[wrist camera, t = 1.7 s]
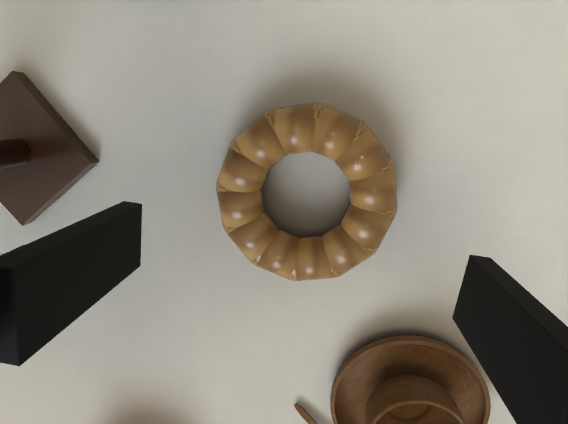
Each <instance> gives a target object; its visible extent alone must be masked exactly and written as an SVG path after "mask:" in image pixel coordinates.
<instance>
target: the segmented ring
mask: <svg viewBox="0 0 568 424" xmlns="http://www.w3.org/2000/svg"><path fill="white" fill-rule="evenodd" d="M309 151H313V152H315V153H318V154H320V155H322V156H325V157H327V158H329V159H332V160H334V161H335V162H336V163H337V165H338V166H339V167H340V169H341V170H342V171H343V173H344V174H345V175H346V177H347V178H348V180H349V188H350V199H351V203H350V205H349V208H348V210H347V212H346V214H345V216H344V218H343V220H342V222H341V223H340V224H339V225H337V226H336V227H334V228H333V229H332V230H330V231H329V232H327V233H326V234H324V235H323V236H316V237H305V238H298V237H296V236H293V235H291V234H289V233H286V232H284V231H282V230H279V229H278V228H277V227H276V226H275V224H274V223H273V222H272V221H271V219H270V218H269V217H268V216H267V214H266V213H265V212H264V207H263V200H262V194H261V188H262V185H263V183H264V180H265V178H266V175H267V173H268V170H269V168H270V167H272V166H273V165H274V164H276V163H277V162H278V161H279V160H281V159H282V158H283V157H285V156H286V155H287V154H293V153H301V152H309ZM216 189H217V195H218V201H219V206H220V212H221V217H222V223H223V227H224V229H225V231H226V233H227V234H228V235H229V236H230V238H231V239H232V240H233V241H234V243H235V244H236V245H237V246H238V247H239V249H240V250H241V251H242V252H243V254H244V255H245V256H246V257H247V258H248V260H249V261H250V262H251V263H253V264H254V265H256V266H258V267H261V268H263V269H265V270H268V271H270V272H272V273H275V274H277V275H279V276H282V277H284V278H287V279H289V280H293V281H301V280H313V279H326V278H335V277H338V276H341V275H342V274H344V273H345V272H347V271H348V270H350V269H352V268H353V267H355V266H356V265H358V264H359V263H361V262H362V261H364V260H365V259H367V258H369V257H370V256H372V255H373V254H374V253H375V252H376V251H377V249H378V248H379V246H380V244H381V242H382V240H383V238H384V236H385V234H386V232H387V230H388V229H389V227H390V225H391V223H392V221H393V219H394V217H395V215H396V212H397V194H396V179H395V166H394V163H393V161H392V159H391V157H390V156H389V154H388V153H387V152H386V150H385V149H384V147H383V146H382V144H381V143H380V142H379V140H378V139H377V137H376V136H375V135H374V133H373V132H372V130H371V129H370V128H369V126H368V125H367V124H366V123H365V122H363V121H362V120H360V119H357V118H355V117H353V116H350V115H348V114H346V113H343V112H341V111H339V110H336V109H334V108H331V107H329V106H327V105H324V104H321V103H310V104H303V105H296V106H289V107H282V108H275V109H271V110H269V111H267V112H266V113H264V114H263V115H262V116H261V117H259V118H258V119H257V120H256V121H255V122H253V123H252V124H251V125H250V126H248V127H247V128H246V129H245V130H243V131H242V132H241V133H240V134H239V135H237V136H236V137H235V138H234V139H233V140H232V142H231V144H230V146H229V149H228V151H227V154H226V157H225V160H224V163H223V165H222V168H221V171H220V174H219V176H218V179H217V183H216Z"/></svg>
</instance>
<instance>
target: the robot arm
mask: <svg viewBox="0 0 568 424" xmlns="http://www.w3.org/2000/svg"><path fill="white" fill-rule="evenodd" d="M141 221H142V204H139V203H132V202H126V201H123V202H121V203H119V204H117V205H114V206H112V207H110V208H108V209H105V210H103V211H101V212H99V213H96V214H94V215H92V216H90V217H87V218H85V219H83V220H81V221H78V222H76V223H74V224H72V225H69V226H67V227H65V228H63V229H60V230H58V231H56V232H54V233H51V234H49V235H47V236H45V237H42V238H40V239H38V240H36V241H33V242H31V243H29V244H26V245H23V246H20V247H18V248H16V249H14V250H11V251H10V252H7V253H5V254H2V255H0V362H1V363H6V364H11V365H16V366H20V365H21V364H23V363H24V362H25V361H26V360H28V359H29V358H30V357H31V356H32V355H34V354H35V353H36V352H37V351H38V350H40V349H41V348H42V347H43V346H44V345H46V344H47V343H48V342H49V341H50V340H52V339H53V338H54V337H55V336H56V335H58V334H59V333H60V332H61V331H62V330H64V329H65V328H66V327H67V326H68V325H70V324H71V323H72V322H73V321H75V320H76V319H77V318H78V317H79V316H81V315H82V314H83V313H84V312H85V311H87V310H88V309H89V308H90V307H91V306H93V305H94V304H95V303H96V302H97V301H99V300H100V299H101V298H102V297H103V296H105V295H106V294H107V293H108V292H109V291H111V290H112V289H113V288H114V287H115V286H117V285H118V284H119V283H120V282H122V281H123V280H124V279H125V278H126V277H128V276H129V275H130V274H131V273H132V272H134V271H135V270H136V269H137V268H138V267H140V258H141ZM452 318H453V320H454V321H455V323H456V325H457V326H458V328H459V330H460V331H461V333H462V335H463V336H464V338H465V339H466V341H467V343H468V344H469V346H470V348H471V349H472V351H473V353H474V354H475V356H476V358H477V359H478V361H479V362H480V364H481V366H482V367H483V369H484V371H485V372H486V374H487V376H488V377H489V379H490V381H491V382H492V384H493V385H494V387H495V389H496V390H497V392H498V394H499V395H500V397H501V399H502V400H503V402H504V404H505V405H506V407H507V408H508V410H509V412H510V413H511V415H512V417H513V418H514V420H515V422H516V423H517V424H568V327H567V326H566V325H565V324H564V323H563V322H562V321H560V320H559V319H558V318H557V317H556V316H555V315H554V314H553V313H551V312H550V311H549V310H548V309H547V308H546V307H545V306H544V305H543V304H541V303H540V302H539V301H538V300H537V299H536V298H535V297H534V296H532V295H531V294H530V293H529V292H528V291H527V290H526V289H525V288H524V287H522V286H521V285H520V284H519V283H518V282H517V281H516V280H515V279H513V278H512V277H511V276H510V275H509V274H508V273H507V272H506V271H504V270H503V269H502V268H501V267H500V266H499V265H498V264H497V263H496V262H494V261H493V260H492V259H491V258H488V257H481V256H475V255H470V256H469V260H468V264H467V267H466V271H465V274H464V278H463V282H462V285H461V289H460V292H459V296H458V300H457V303H456V307H455V310H454V314H453V317H452Z"/></svg>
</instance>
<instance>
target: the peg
mask: <svg viewBox="0 0 568 424" xmlns="http://www.w3.org/2000/svg"><path fill="white" fill-rule="evenodd" d="M98 162H99V161H98V160H97V159H96V158H95V156H94V155H93V154H92V153H91V152H90V151H89V149H88V148H87V147H86V146H85V145H84V144H83V142H82V141H81V140H80V139H79V138H78V137H77V135H76V134H75V133H74V132H73V131H72V130H71V128H70V127H69V126H68V125H67V124H66V122H65V121H64V120H63V119H62V118H61V117H60V115H59V114H58V113H57V112H56V111H55V110H54V108H53V107H52V106H51V105H50V104H49V103H48V101H47V100H46V99H45V98H44V97H43V96H42V94H41V93H40V92H39V91H38V90H37V88H36V87H35V86H34V85H33V84H32V83H31V81H30V80H29V79H28V78H27V77H26V76H25V74H24V73H23V72H15V71H12V72H11V73H10V74H9V75H8V76H7V77H6V78H5V79H4V80H3V81H2V82H1V83H0V202H1V203H2V204H3V205H4V206H5V207H6V209H7V210H8V211H9V212H10V213H11V214H12V215H13V216H14V217H15V218H16V219H17V221H18V222H19V223H20V224H21V225H22V226H23V225H25V224H28V223H31V222H32V221H33V220H35V219H36V218H37V217H38V216H39V215H40V214H41V213H42V212H44V211H45V210H46V209H47V208H48V207H49V206H50V205H51V204H52V203H54V202H55V201H56V200H57V199H58V198H59V197H60V196H61V195H62V194H64V193H65V192H66V191H67V190H68V189H69V188H70V187H71V186H73V185H74V184H75V183H76V182H77V181H78V180H79V179H80V178H81V177H83V176H84V175H85V174H86V173H87V172H88V171H89V170H90V169H91V168H93V167H94V166H95V165H96V164H97V163H98Z"/></svg>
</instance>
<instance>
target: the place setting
mask: <svg viewBox="0 0 568 424" xmlns="http://www.w3.org/2000/svg"><path fill="white" fill-rule="evenodd" d="M294 406H295V408H296V409H297V411H298V412H299V414H300V415H301V416H302V417H303V418H304V419H305V420H306V421H307V423H308V424H317V423H316V421H315V420H314V419H313V418H312V417H311V416H310V415H309V414H308V413H307V412H306V411H305V410H304V409H303V408H302V407H301V406H300V405H298V404H297V403H296V404H294ZM331 415H332V419H333V422H334V424H487V423H488V420H489V416H490V396H489V391H488V388H487V386H486V383H485V381H484V379H483V378H482V376H481V374H480V372H479V371H478V370H477V368H476V367H475V366H474V365H473V363H472V362H471V361H470V360H469V359H467V358H466V357H465V356H464V355H463V354H462V353H460V352H459V351H458V350H456V349H455V348H453V347H451V346H449V345H447V344H445V343H443V342H440V341H438V340H435V339H431V338H427V337H422V336H413V335H402V336H392V337H387V338H383V339H380V340H377V341H374V342H372V343H370V344H368V345H366V346H364V347H362V348H361V349H359V350H358V351H356V352H355V353H354V354H353V355H352V356H350V358H349V359H348V360H347V361H346V362H345V363H344V364H343V366H342V367H341V368H340V370H339V372H338V374H337V376H336V378H335V380H334V383H333V386H332V392H331Z"/></svg>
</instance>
